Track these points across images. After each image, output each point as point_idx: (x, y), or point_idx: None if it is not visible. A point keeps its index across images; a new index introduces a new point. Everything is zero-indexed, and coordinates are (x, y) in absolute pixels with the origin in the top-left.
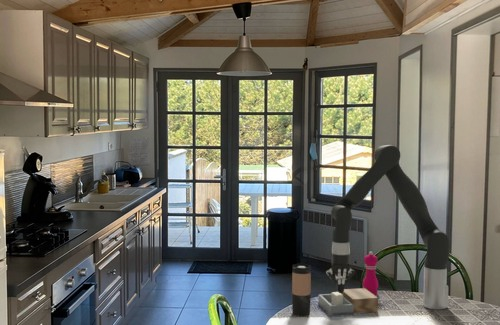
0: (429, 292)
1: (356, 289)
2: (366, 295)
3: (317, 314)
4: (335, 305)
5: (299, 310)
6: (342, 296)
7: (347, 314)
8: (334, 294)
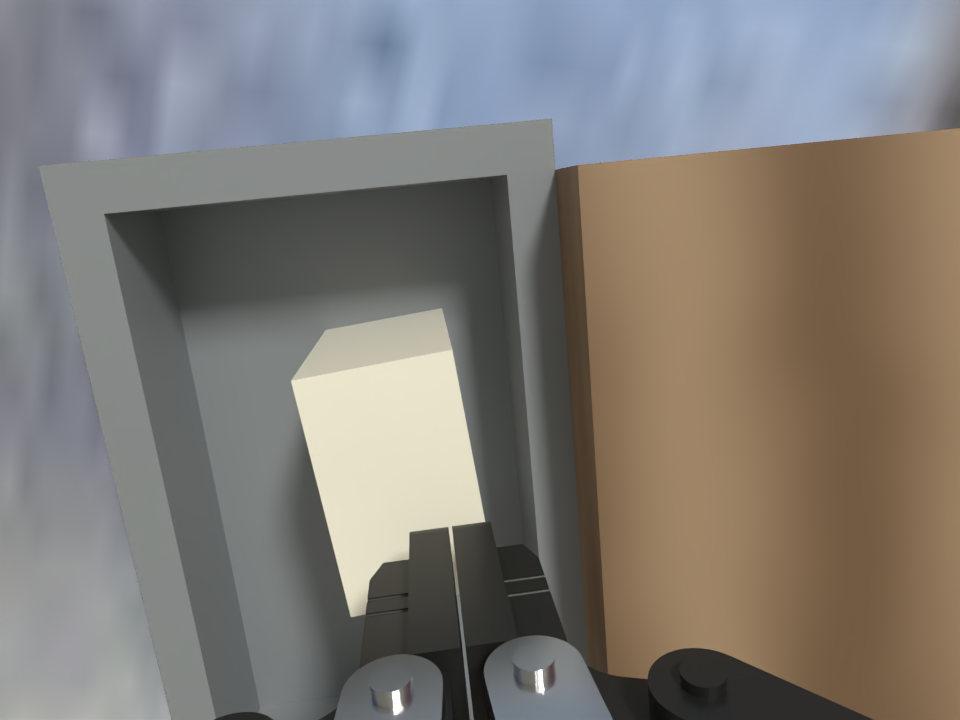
0: None
1: (930, 195)
2: (944, 610)
3: (59, 662)
4: None
5: None
6: None
7: None
8: (329, 528)
